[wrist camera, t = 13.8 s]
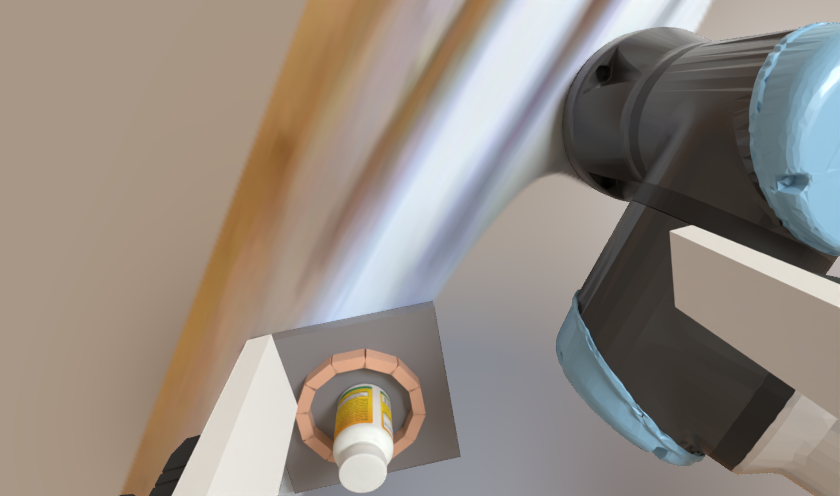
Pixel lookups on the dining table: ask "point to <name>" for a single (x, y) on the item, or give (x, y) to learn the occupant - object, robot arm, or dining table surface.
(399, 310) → the coaster stand
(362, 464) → the supplement bottle
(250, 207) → the dining table surface
